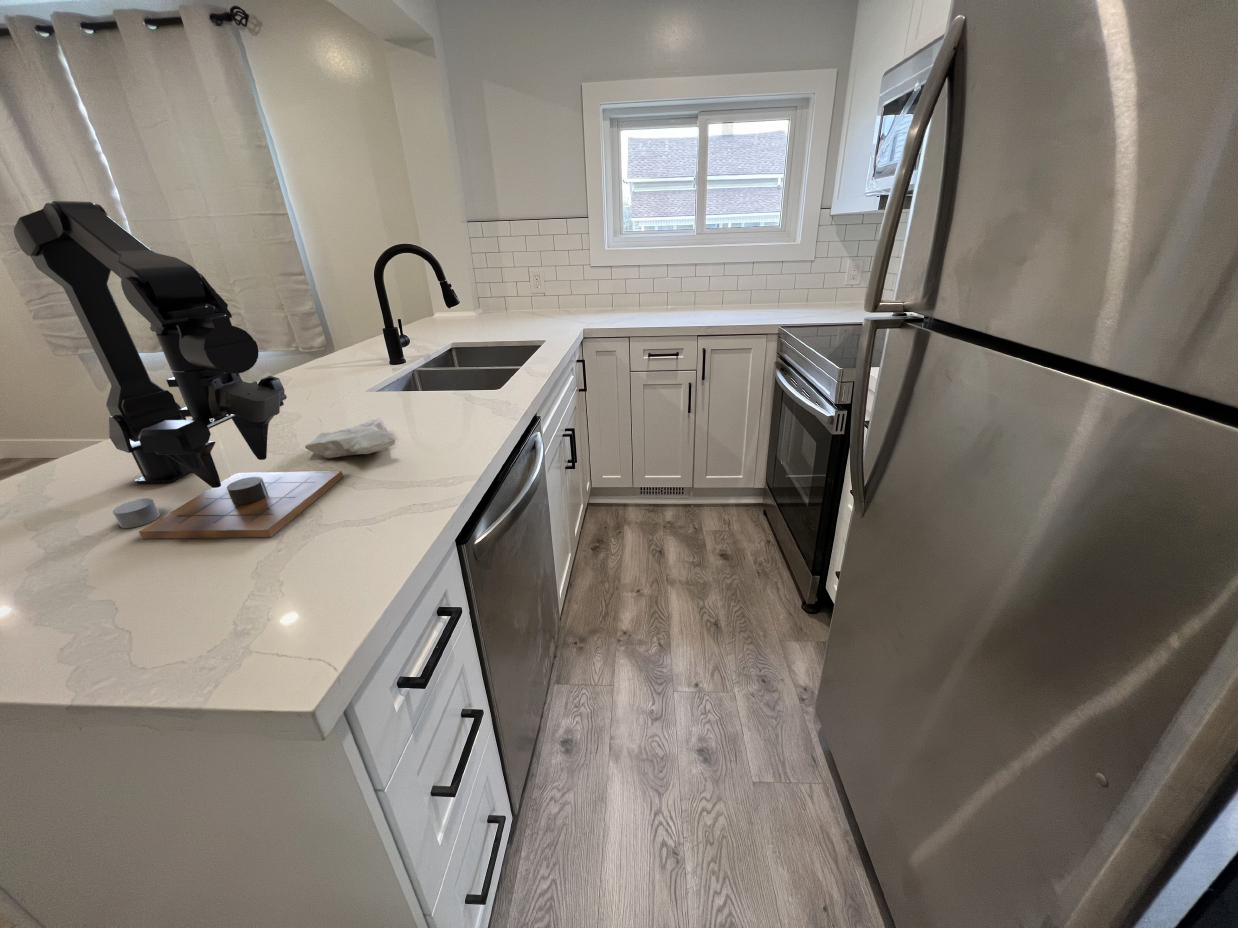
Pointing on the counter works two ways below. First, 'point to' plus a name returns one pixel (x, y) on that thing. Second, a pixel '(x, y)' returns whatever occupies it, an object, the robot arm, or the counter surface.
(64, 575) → the counter surface
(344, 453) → the rock
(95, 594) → the counter surface
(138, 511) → the grey stone
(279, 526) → the board
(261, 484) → the black stone
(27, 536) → the counter surface
